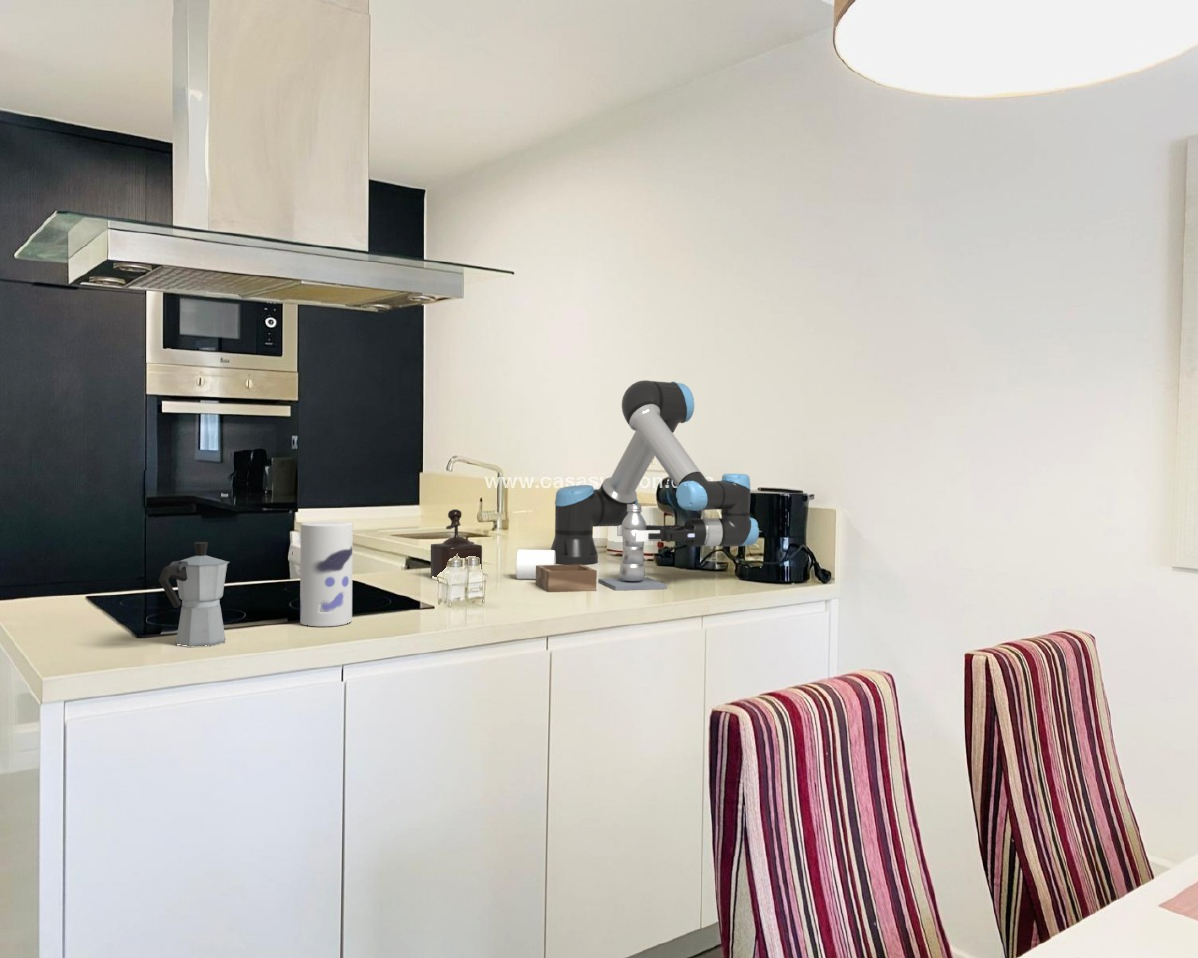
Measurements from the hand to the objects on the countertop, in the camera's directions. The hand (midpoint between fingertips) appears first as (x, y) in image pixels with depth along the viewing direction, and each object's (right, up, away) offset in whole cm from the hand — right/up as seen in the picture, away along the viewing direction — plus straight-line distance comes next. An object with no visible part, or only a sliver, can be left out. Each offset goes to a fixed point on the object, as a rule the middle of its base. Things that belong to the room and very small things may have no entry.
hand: (626, 533), depth 250 cm
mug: (-24, -13, +12) cm, 30 cm away
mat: (+2, -14, +1) cm, 14 cm away
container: (-62, -15, -56) cm, 85 cm away
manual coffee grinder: (-46, -13, +9) cm, 49 cm away
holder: (-15, -14, -4) cm, 21 cm away
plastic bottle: (+2, -13, +1) cm, 13 cm away
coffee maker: (-79, -15, -78) cm, 112 cm away
